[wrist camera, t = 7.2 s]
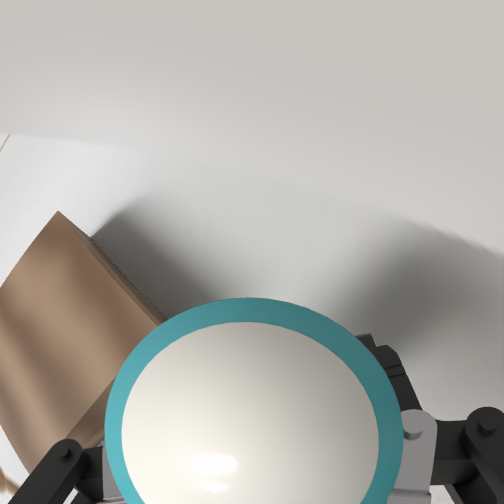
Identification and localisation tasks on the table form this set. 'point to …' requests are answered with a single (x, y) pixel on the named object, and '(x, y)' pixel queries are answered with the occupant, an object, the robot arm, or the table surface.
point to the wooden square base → (64, 340)
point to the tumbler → (253, 411)
